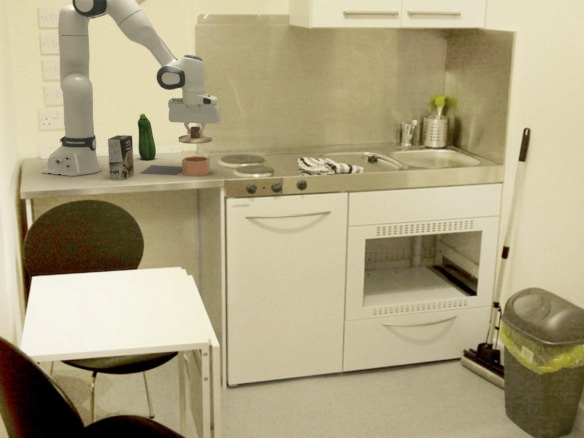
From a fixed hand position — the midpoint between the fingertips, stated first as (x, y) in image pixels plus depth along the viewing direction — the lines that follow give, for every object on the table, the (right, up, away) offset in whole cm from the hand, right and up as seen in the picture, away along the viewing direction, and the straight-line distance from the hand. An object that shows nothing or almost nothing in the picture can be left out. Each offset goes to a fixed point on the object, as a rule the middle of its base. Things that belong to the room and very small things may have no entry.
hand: (195, 134), depth 292 cm
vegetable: (-24, -8, +28) cm, 38 cm away
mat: (-14, -14, +8) cm, 21 cm away
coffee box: (-28, -18, -3) cm, 33 cm away
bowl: (0, -15, +5) cm, 16 cm away
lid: (0, -2, +1) cm, 3 cm away
